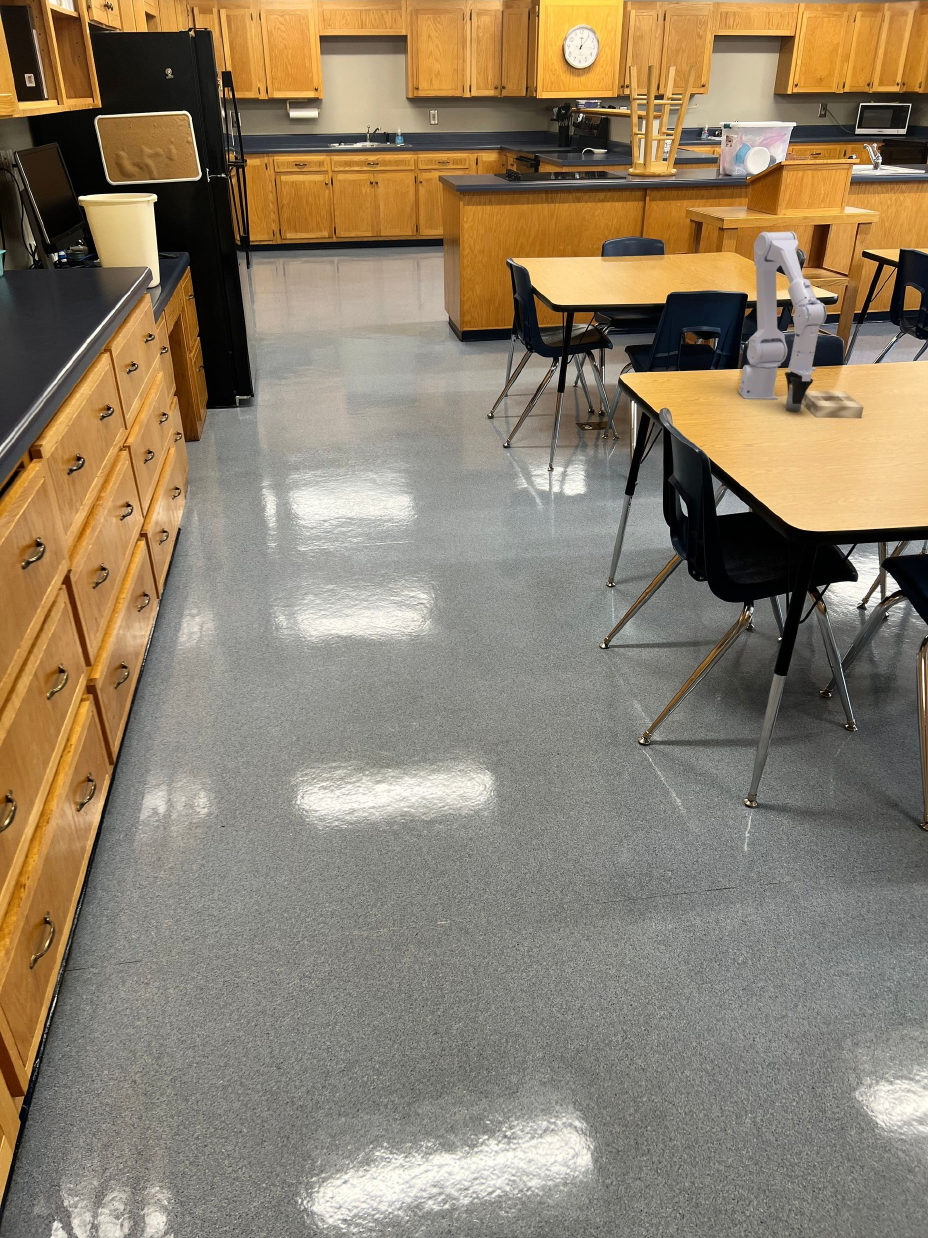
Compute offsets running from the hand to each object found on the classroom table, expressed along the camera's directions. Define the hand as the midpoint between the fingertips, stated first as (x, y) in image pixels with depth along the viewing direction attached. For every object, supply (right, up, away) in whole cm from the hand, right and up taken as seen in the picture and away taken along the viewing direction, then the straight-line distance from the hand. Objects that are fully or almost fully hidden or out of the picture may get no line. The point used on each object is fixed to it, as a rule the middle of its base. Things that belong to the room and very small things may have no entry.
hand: (794, 401), depth 247 cm
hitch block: (+11, -2, +2) cm, 11 cm away
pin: (0, -2, +1) cm, 2 cm away
